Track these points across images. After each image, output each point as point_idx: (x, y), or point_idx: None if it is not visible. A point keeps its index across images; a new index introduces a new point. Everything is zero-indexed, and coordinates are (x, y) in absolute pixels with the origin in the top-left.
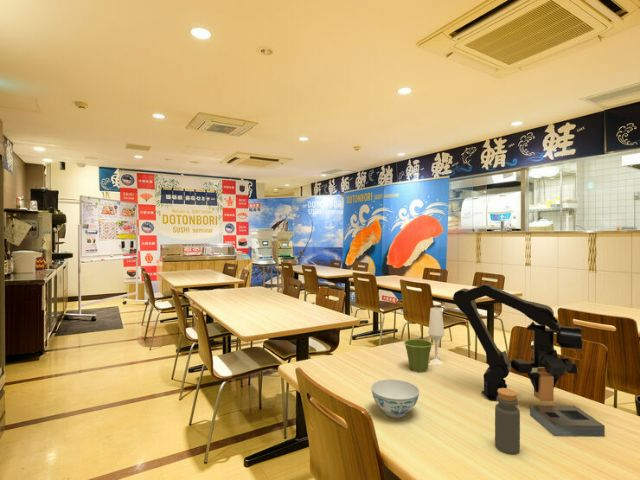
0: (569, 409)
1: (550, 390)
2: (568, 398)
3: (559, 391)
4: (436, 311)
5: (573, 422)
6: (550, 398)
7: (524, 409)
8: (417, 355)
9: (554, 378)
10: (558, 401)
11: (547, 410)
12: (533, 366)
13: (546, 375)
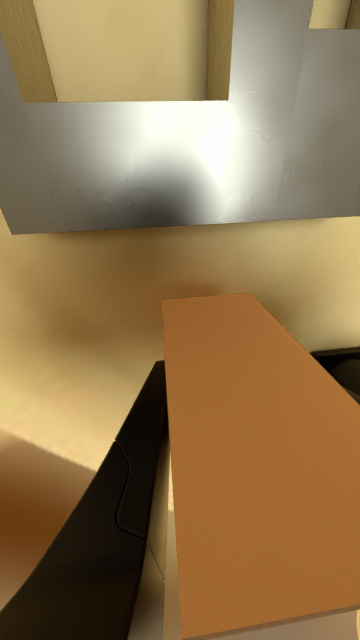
0: (95, 132)
1: (197, 349)
2: (27, 400)
3: (48, 441)
4: None
5: None
6: (185, 307)
7: (305, 277)
8: None
9: (134, 543)
10: (85, 371)
11: (336, 94)
12: None
13: (316, 614)
